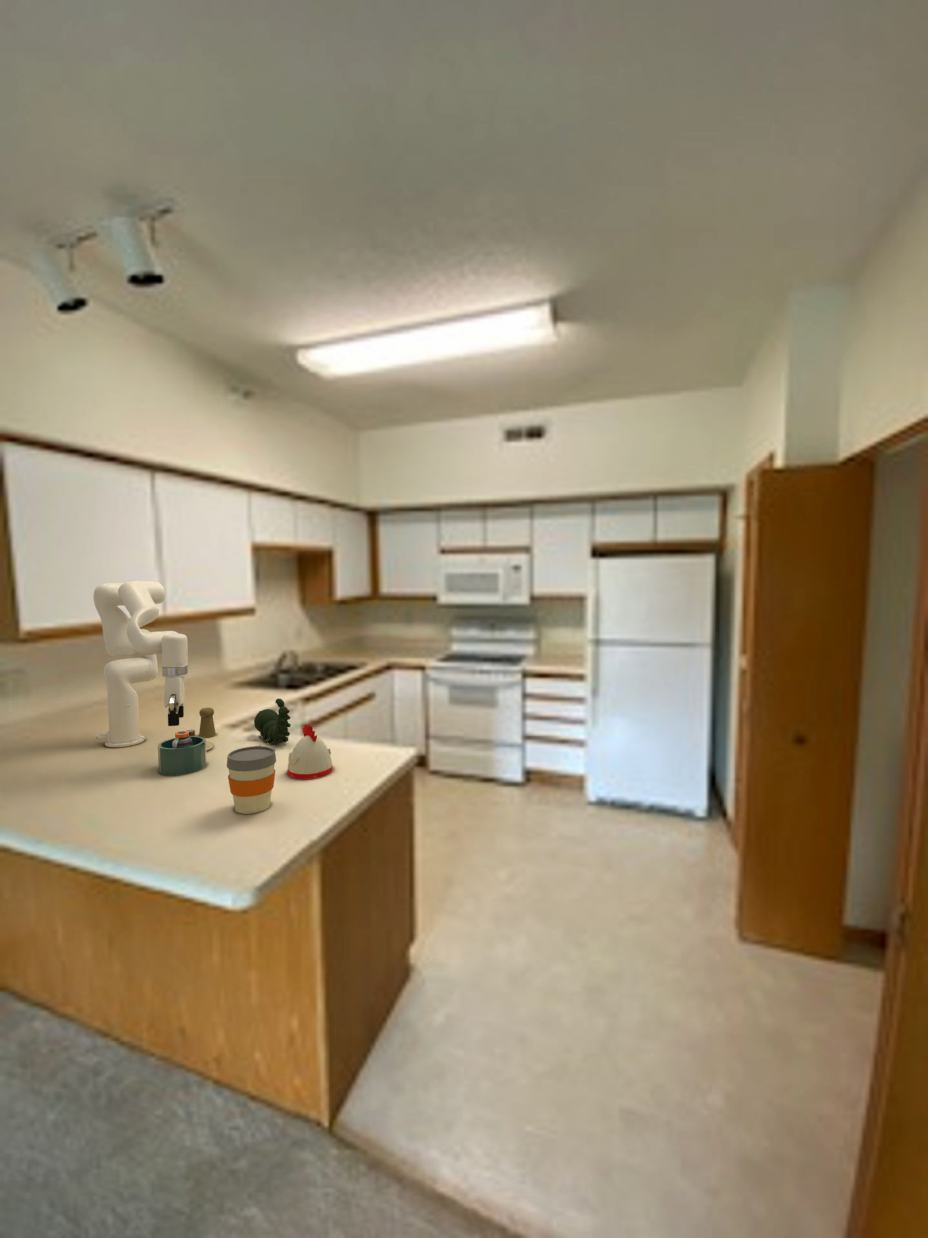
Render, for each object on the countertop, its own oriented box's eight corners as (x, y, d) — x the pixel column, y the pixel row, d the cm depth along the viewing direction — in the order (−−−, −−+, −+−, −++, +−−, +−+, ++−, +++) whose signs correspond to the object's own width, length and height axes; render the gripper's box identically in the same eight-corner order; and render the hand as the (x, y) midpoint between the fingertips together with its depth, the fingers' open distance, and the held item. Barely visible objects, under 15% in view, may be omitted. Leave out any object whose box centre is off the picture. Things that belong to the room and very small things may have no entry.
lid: (164, 758, 181) (163, 738, 180) (171, 745, 194) (170, 727, 194) (211, 754, 186) (210, 734, 186) (214, 741, 200) (214, 723, 199)
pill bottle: (176, 770, 168) (175, 736, 168) (169, 766, 172) (168, 732, 172) (196, 766, 173) (195, 732, 172) (188, 761, 177) (187, 728, 176)
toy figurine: (296, 749, 197) (271, 728, 215) (298, 701, 194) (271, 684, 213) (271, 755, 191) (247, 733, 209) (272, 704, 188) (248, 687, 206)
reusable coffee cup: (227, 820, 136) (226, 763, 135) (228, 801, 147) (226, 749, 146) (278, 812, 141) (277, 757, 140) (275, 794, 152) (274, 743, 151)
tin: (155, 777, 164) (154, 751, 163) (163, 763, 177) (162, 738, 176) (203, 772, 169) (203, 746, 168) (207, 758, 181) (207, 734, 181)
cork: (208, 738, 204) (208, 710, 203) (195, 737, 205) (194, 709, 204) (219, 733, 210) (218, 706, 209) (205, 732, 211) (205, 705, 210)
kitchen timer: (319, 760, 180) (318, 718, 179) (340, 771, 171) (340, 726, 170) (280, 770, 171) (279, 725, 170) (300, 782, 161) (299, 735, 160)
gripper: (166, 666, 181) (167, 715, 182) (157, 676, 164) (158, 730, 166) (191, 666, 183) (192, 713, 185) (184, 675, 167) (185, 728, 169)
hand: (176, 721), depth 175 cm, fingers open, 9 cm apart
